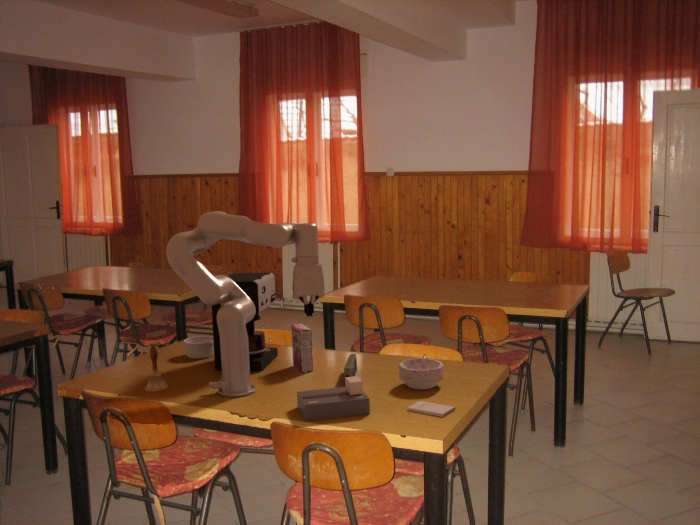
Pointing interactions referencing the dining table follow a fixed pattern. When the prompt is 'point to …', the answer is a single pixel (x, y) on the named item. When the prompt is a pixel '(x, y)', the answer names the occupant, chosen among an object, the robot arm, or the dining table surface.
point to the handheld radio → (350, 366)
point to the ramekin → (199, 347)
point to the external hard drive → (431, 408)
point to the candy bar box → (302, 347)
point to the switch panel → (331, 404)
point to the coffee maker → (263, 296)
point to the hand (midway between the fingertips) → (309, 315)
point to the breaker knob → (354, 385)
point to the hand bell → (155, 374)
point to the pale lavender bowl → (421, 373)
